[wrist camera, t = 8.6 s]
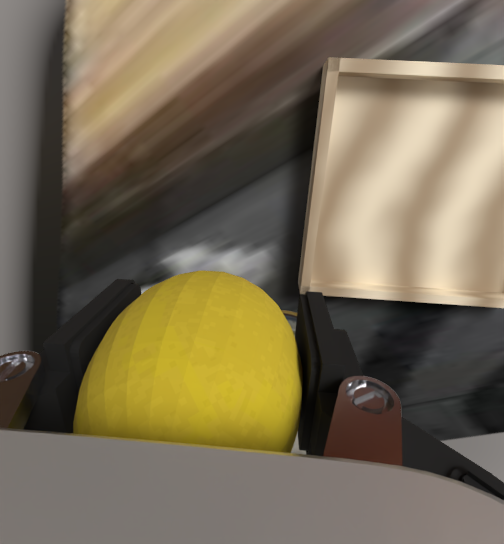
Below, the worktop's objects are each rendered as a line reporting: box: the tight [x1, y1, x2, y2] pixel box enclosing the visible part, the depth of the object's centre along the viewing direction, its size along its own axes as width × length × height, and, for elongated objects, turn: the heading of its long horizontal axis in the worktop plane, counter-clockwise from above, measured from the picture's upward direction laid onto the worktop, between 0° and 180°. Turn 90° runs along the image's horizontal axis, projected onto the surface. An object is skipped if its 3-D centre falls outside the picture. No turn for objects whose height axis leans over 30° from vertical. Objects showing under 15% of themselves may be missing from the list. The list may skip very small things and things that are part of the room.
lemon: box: [73, 271, 303, 453], centre depth 9 cm, size 6×6×8 cm
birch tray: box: [298, 57, 504, 308], centre depth 26 cm, size 20×18×2 cm
